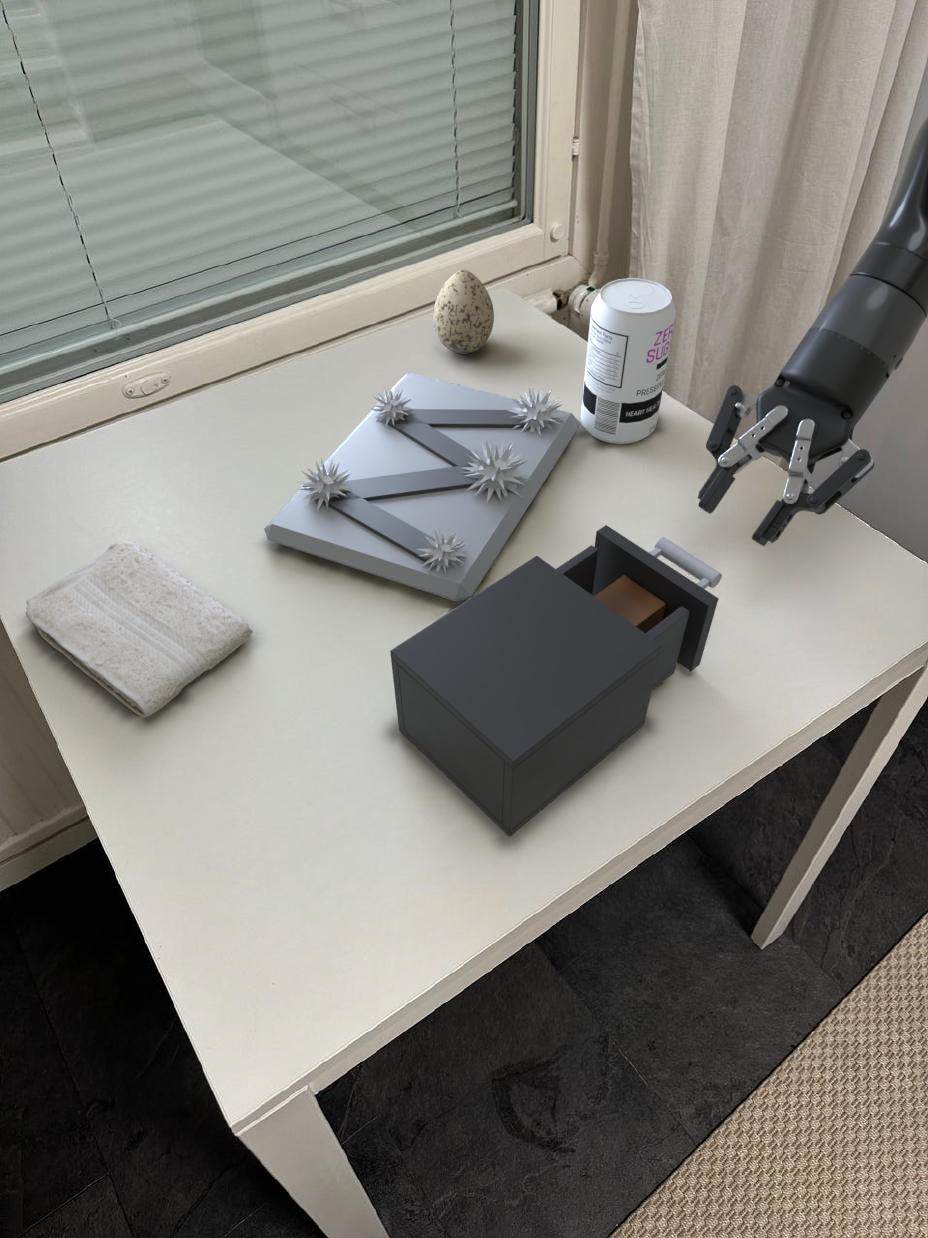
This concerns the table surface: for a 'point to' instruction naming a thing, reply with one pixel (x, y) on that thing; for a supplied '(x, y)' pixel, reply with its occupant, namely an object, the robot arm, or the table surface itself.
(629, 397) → the supplement can
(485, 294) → the decorative egg
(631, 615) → the block
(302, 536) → the grey zigzag star board
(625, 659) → the cabinet
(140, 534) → the table surface
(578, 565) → the drawer
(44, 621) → the washcloth
